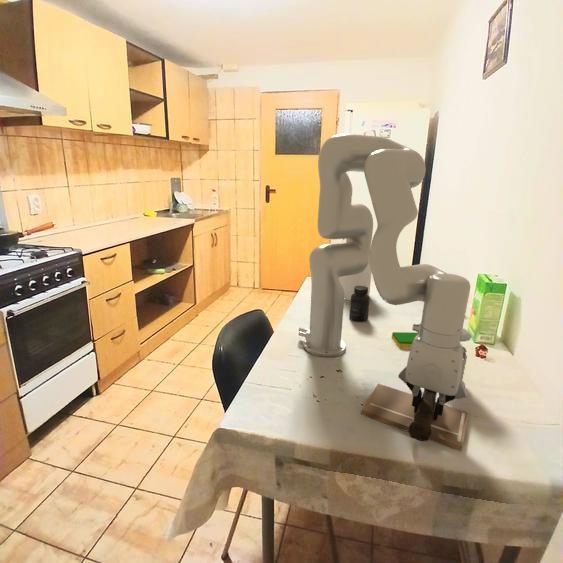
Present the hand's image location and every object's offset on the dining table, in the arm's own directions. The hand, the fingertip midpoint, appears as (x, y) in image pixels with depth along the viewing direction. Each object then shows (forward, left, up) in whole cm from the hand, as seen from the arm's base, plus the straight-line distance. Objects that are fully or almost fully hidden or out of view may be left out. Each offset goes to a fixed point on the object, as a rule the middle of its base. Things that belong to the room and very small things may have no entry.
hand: (426, 412), depth 76 cm
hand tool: (-1, 0, -1) cm, 1 cm away
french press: (+1, +19, -2) cm, 19 cm away
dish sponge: (-9, +37, -3) cm, 38 cm away
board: (-2, 0, -2) cm, 3 cm away
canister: (-42, +69, -2) cm, 81 cm away
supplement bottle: (-31, +45, -2) cm, 55 cm away
